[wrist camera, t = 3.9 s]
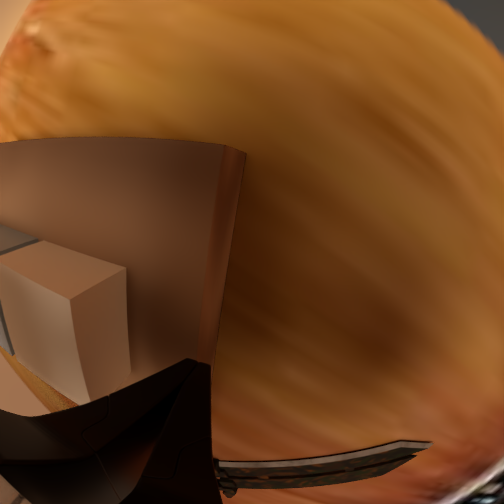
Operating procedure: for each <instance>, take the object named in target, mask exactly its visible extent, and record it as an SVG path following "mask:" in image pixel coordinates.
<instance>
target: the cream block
mask: <svg viewBox="0 0 504 504" xmlns="http://www.w3.org/2000/svg"><path fill="white" fill-rule="evenodd" d="M0 300H1V305H2V309H3V313H4V318H5V321H6V325H7V329H8V332H9V336H10V339H11V342H12V346H13V349H14V352H15V355H16V358H17V361H19V362H20V363H21V364H22V365H23V366H25V367H26V368H27V369H28V370H30V371H31V372H32V373H34V374H35V375H36V376H37V377H39V378H40V379H41V380H43V381H44V382H46V383H47V384H48V385H50V386H51V387H53V388H54V389H55V390H57V391H58V392H60V393H61V394H63V395H64V396H66V397H67V398H69V399H70V400H72V401H74V402H75V403H77V404H78V405H83V404H86V403H89V402H91V401H94V400H96V399H99V398H101V397H104V396H106V395H108V396H109V394H111V393H113V392H114V391H115V390H116V389H117V388H118V387H119V385H120V384H121V383H122V382H123V381H124V380H125V379H126V377H127V376H128V375H129V374H130V373H131V365H130V354H129V341H128V325H127V298H126V267H123V266H120V265H116V264H113V263H110V262H107V261H104V260H101V259H97V258H94V257H91V256H88V255H85V254H82V253H79V252H76V251H73V250H70V249H67V248H64V247H61V246H58V245H56V244H53V243H50V242H47V241H44V240H43V241H40V242H37V243H35V244H32V245H29V246H26V247H23V248H20V249H17V250H14V251H12V252H9V253H6V254H4V255H1V256H0Z"/></svg>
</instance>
